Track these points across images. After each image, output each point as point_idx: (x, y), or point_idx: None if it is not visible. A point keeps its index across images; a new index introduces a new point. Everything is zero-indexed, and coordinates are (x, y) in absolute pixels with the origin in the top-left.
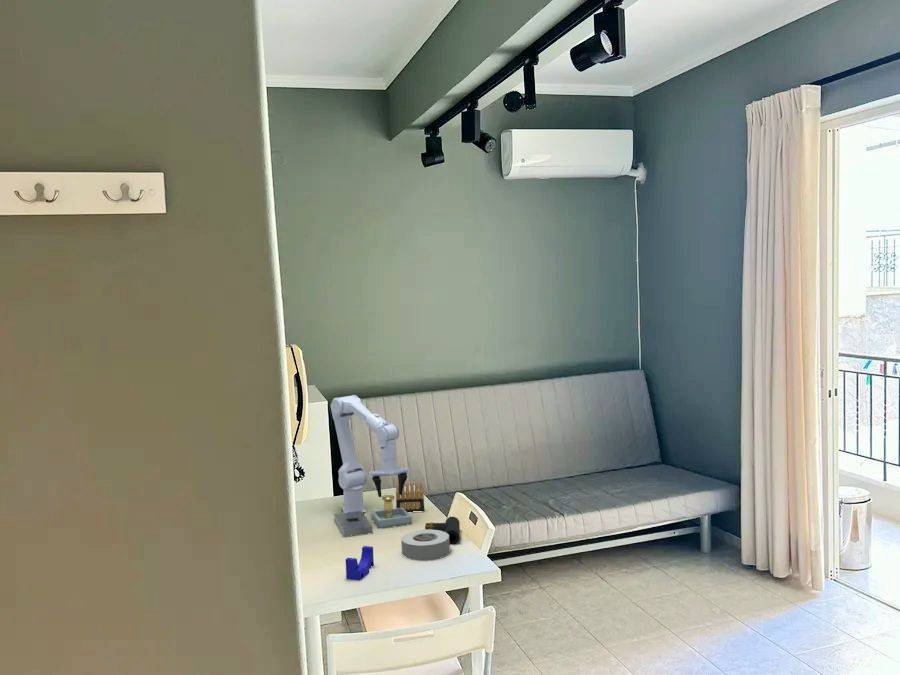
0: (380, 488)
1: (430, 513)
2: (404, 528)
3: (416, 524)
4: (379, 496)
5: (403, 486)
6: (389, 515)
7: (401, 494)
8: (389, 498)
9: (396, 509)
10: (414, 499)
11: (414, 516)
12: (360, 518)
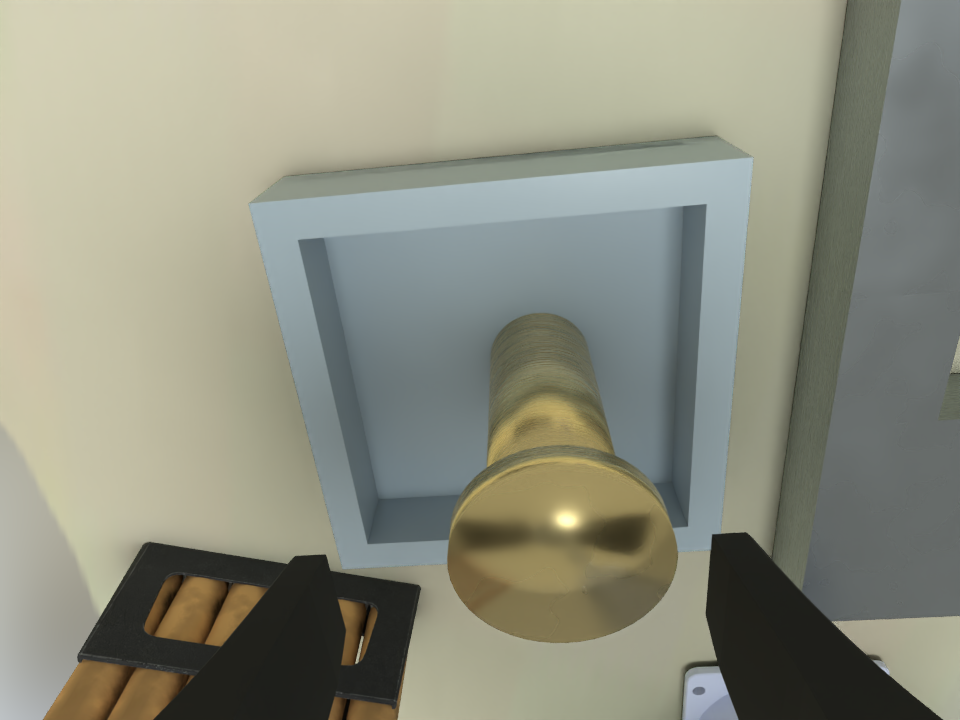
0: (812, 672)
1: (80, 485)
2: (385, 40)
3: (222, 163)
4: (756, 543)
5: (186, 685)
6: (543, 343)
7: (300, 558)
8: (555, 468)
9: (421, 536)
10: (186, 668)
11: (245, 447)
12: (913, 382)
